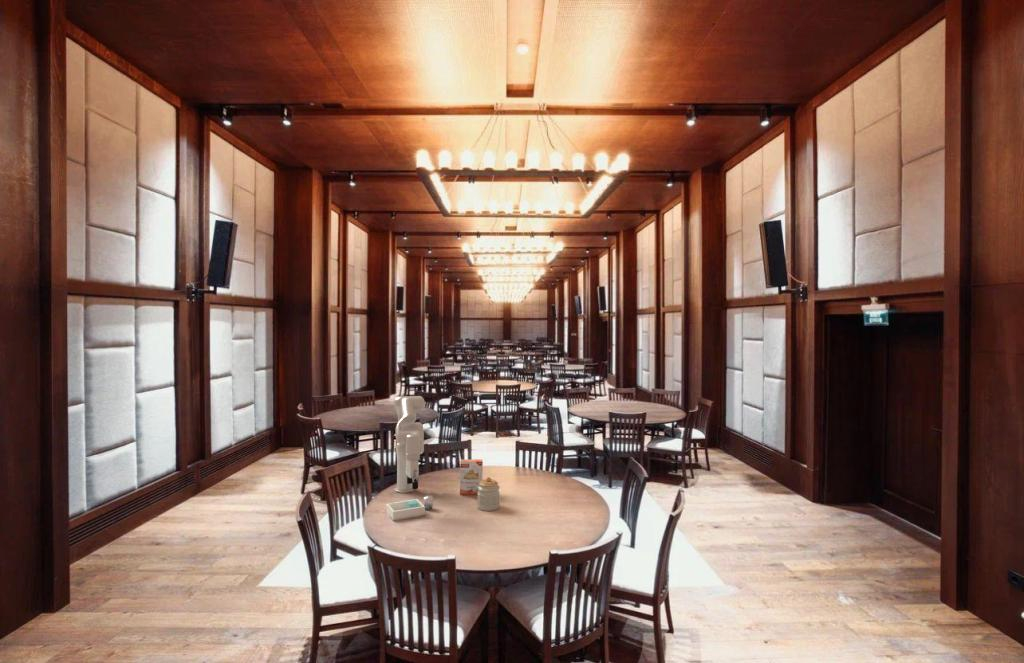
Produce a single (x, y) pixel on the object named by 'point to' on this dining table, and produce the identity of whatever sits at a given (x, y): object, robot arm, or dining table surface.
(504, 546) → the dining table surface
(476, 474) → the cracker box
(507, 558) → the dining table surface
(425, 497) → the steel cylinder
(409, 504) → the teal cube
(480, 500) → the jar
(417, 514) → the tote
